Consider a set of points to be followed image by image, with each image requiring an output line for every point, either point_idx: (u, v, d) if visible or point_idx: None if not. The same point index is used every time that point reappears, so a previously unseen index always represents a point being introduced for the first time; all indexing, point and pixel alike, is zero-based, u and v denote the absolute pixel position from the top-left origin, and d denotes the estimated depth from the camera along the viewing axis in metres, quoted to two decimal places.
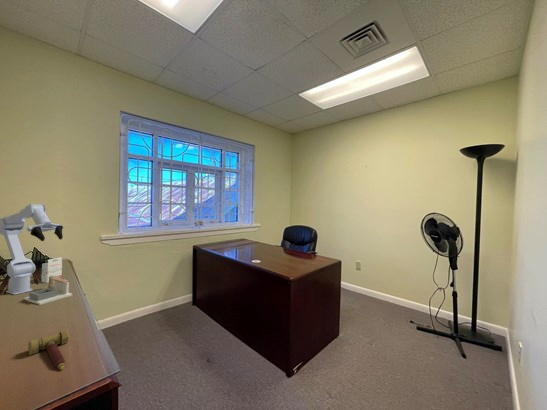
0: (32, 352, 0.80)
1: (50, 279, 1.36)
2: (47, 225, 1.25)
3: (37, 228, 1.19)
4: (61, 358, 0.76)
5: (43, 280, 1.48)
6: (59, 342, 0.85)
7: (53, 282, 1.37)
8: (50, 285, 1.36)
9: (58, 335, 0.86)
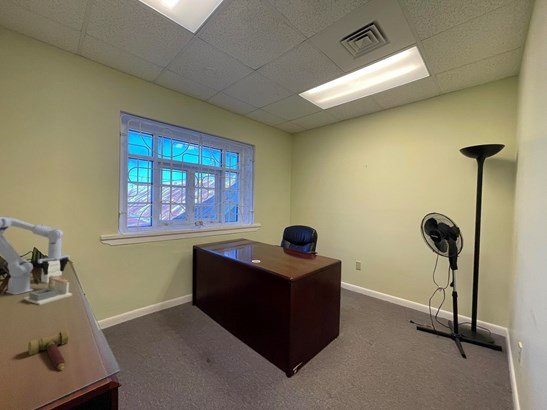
0: (32, 352, 0.79)
1: (50, 279, 1.36)
2: None
3: (46, 265, 1.33)
4: (61, 358, 0.76)
5: (43, 280, 1.48)
6: (59, 342, 0.85)
7: (53, 282, 1.37)
8: (50, 285, 1.36)
9: (58, 335, 0.86)
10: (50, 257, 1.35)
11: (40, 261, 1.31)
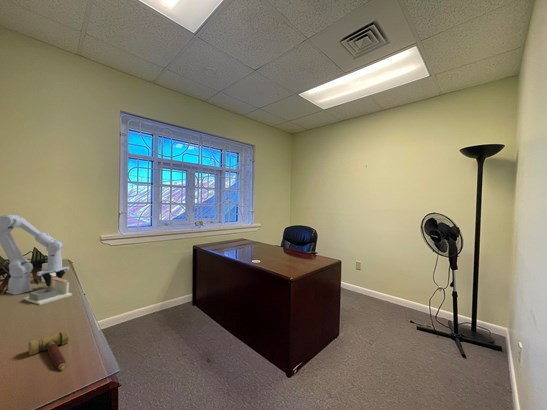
0: (32, 353, 0.79)
1: None
2: None
3: (48, 276, 1.34)
4: (61, 358, 0.75)
5: (43, 280, 1.48)
6: (59, 342, 0.85)
7: (53, 282, 1.37)
8: (50, 285, 1.36)
9: (58, 335, 0.86)
10: (49, 269, 1.35)
11: (39, 274, 1.31)
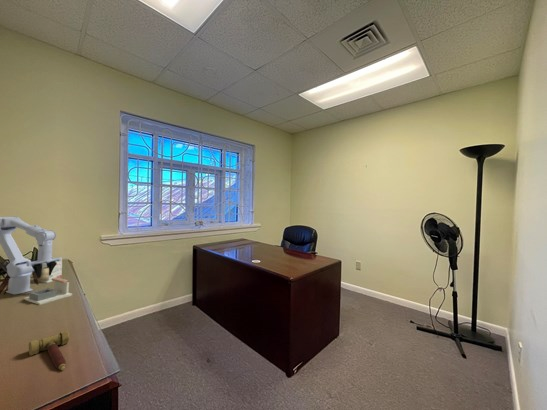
0: (32, 353, 0.79)
1: (41, 270, 1.30)
2: None
3: (39, 267, 1.28)
4: (62, 359, 0.75)
5: None
6: (59, 342, 0.85)
7: (44, 273, 1.30)
8: (41, 276, 1.30)
9: (58, 335, 0.85)
10: (40, 260, 1.29)
11: (29, 264, 1.25)
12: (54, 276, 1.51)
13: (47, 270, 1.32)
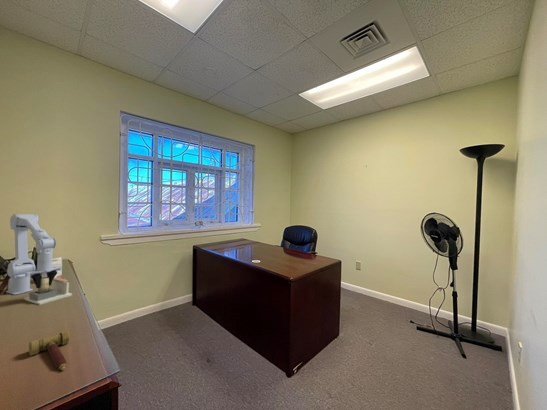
0: (33, 353, 0.79)
1: None
2: None
3: (38, 277, 1.20)
4: (62, 359, 0.75)
5: None
6: (60, 343, 0.85)
7: (43, 284, 1.22)
8: (40, 287, 1.22)
9: (59, 336, 0.85)
10: (39, 269, 1.21)
11: (28, 274, 1.17)
12: None
13: (47, 280, 1.24)
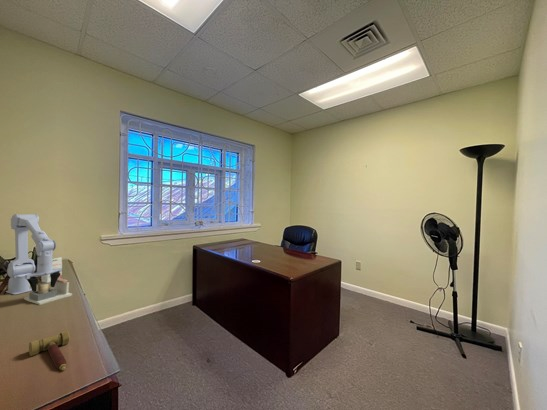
0: (33, 353, 0.79)
1: (39, 286, 1.22)
2: None
3: (34, 281, 1.18)
4: (62, 359, 0.75)
5: (43, 280, 1.48)
6: (60, 343, 0.85)
7: (43, 290, 1.22)
8: (39, 293, 1.22)
9: (59, 336, 0.85)
10: (39, 272, 1.21)
11: (27, 277, 1.17)
12: None
13: (46, 286, 1.24)
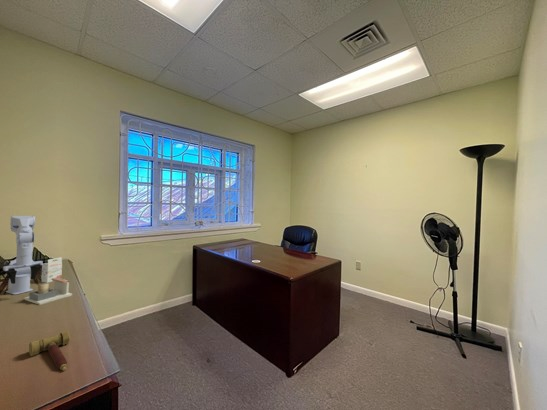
0: (33, 353, 0.79)
1: (39, 286, 1.22)
2: None
3: (12, 272, 1.17)
4: (63, 359, 0.75)
5: (43, 280, 1.48)
6: (60, 343, 0.85)
7: (43, 290, 1.22)
8: (39, 293, 1.22)
9: (59, 336, 0.85)
10: (18, 264, 1.20)
11: (6, 268, 1.16)
12: (54, 276, 1.51)
13: (46, 286, 1.24)
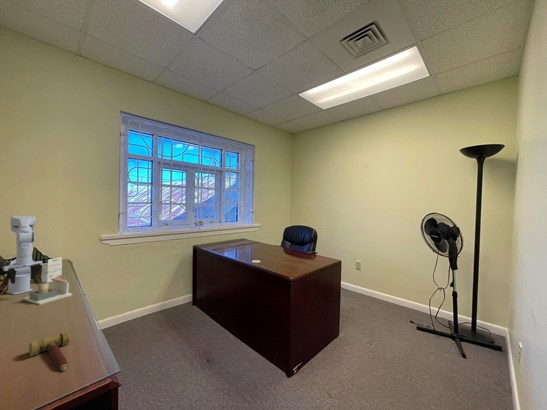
0: (33, 354, 0.79)
1: (39, 286, 1.22)
2: None
3: (12, 272, 1.17)
4: (63, 359, 0.75)
5: (43, 280, 1.48)
6: (60, 343, 0.85)
7: (43, 290, 1.22)
8: (39, 293, 1.22)
9: (59, 336, 0.85)
10: (18, 264, 1.20)
11: (6, 268, 1.16)
12: (54, 276, 1.51)
13: (46, 286, 1.24)
